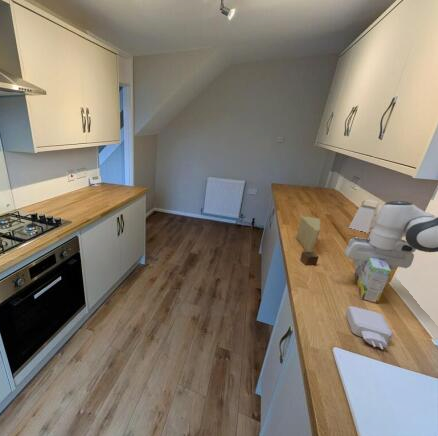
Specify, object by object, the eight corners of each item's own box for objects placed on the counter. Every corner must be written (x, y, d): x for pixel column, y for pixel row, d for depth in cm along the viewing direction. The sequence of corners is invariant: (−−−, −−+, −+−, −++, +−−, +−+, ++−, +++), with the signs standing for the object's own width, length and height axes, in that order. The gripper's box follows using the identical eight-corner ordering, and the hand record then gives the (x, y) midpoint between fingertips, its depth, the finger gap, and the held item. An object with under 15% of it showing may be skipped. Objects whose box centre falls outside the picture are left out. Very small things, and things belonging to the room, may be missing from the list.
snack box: (352, 273, 110) (363, 244, 105) (368, 277, 107) (380, 248, 102) (359, 299, 93) (373, 266, 88) (378, 304, 91) (393, 271, 85)
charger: (355, 347, 72) (345, 315, 85) (396, 360, 68) (378, 325, 81) (361, 335, 71) (349, 305, 83) (402, 348, 67) (383, 314, 79)
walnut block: (309, 260, 121) (312, 251, 119) (316, 265, 116) (318, 256, 114) (299, 260, 121) (302, 251, 119) (305, 265, 116) (308, 256, 114)
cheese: (321, 257, 123) (329, 231, 118) (299, 253, 127) (306, 228, 122) (314, 241, 142) (321, 217, 137) (295, 237, 146) (301, 215, 141)
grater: (354, 225, 167) (364, 198, 160) (373, 230, 159) (384, 201, 152) (348, 228, 162) (358, 200, 155) (367, 233, 154) (378, 204, 147)
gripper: (353, 239, 93) (342, 269, 98) (422, 249, 86) (406, 281, 91) (347, 233, 99) (337, 262, 104) (411, 242, 92) (397, 272, 97)
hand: (370, 271), depth 97 cm, fingers open, 8 cm apart
